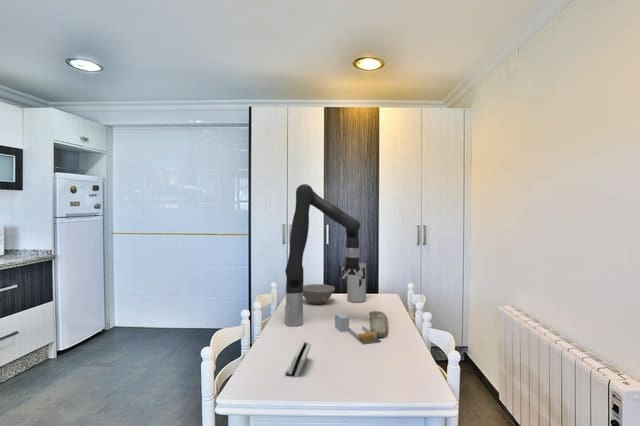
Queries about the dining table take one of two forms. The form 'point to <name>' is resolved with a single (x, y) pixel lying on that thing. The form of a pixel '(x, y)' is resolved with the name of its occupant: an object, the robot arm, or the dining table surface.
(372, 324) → the long grey stone
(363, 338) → the rail mount
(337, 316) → the module
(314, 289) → the ceramic bowl
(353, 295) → the cylinder vase
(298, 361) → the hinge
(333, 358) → the dining table surface
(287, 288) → the robot arm
